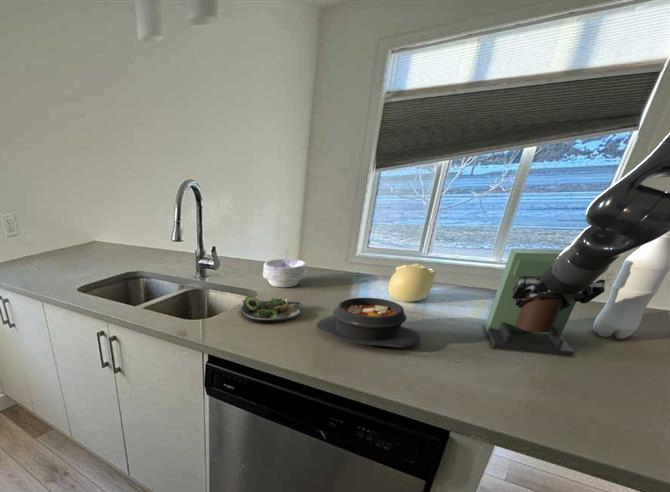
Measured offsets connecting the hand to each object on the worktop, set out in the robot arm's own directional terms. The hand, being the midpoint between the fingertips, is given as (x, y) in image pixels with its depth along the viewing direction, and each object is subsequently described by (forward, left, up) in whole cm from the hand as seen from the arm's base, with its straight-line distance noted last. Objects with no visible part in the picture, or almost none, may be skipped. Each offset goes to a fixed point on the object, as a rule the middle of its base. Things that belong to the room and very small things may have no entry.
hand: (539, 305), depth 93 cm
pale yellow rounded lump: (-1, -36, -9) cm, 37 cm away
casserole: (+30, -19, -9) cm, 37 cm away
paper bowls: (+22, -70, -9) cm, 74 cm away
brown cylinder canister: (+1, +1, -5) cm, 5 cm away
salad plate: (+43, -46, -9) cm, 64 cm away
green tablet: (0, 0, -9) cm, 9 cm away
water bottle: (-19, +6, -9) cm, 22 cm away
